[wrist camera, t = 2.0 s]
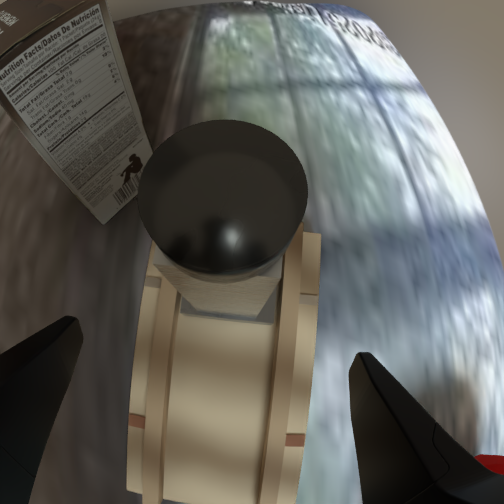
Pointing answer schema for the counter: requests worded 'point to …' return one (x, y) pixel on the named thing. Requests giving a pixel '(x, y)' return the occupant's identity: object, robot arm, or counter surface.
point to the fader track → (223, 393)
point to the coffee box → (74, 98)
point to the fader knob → (223, 217)
